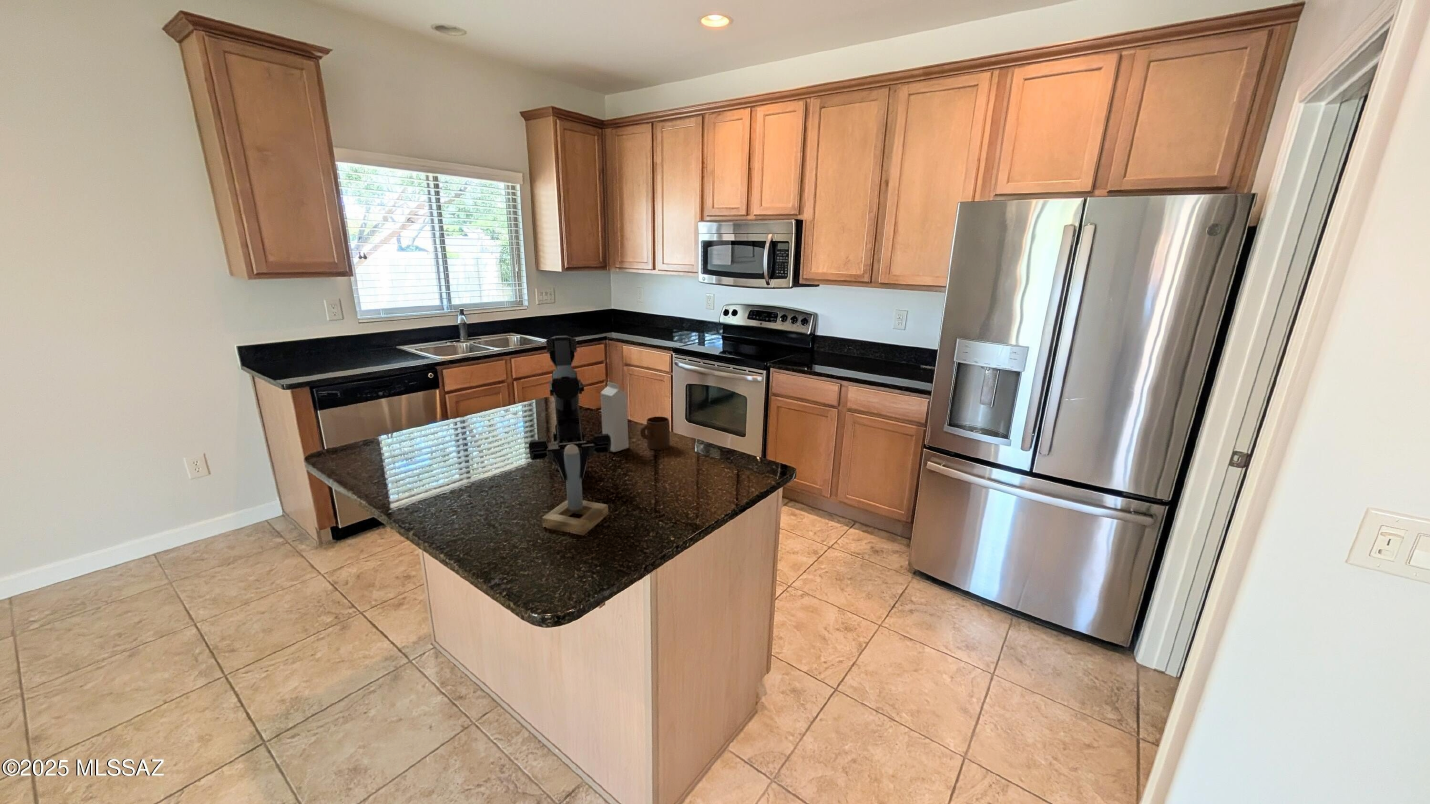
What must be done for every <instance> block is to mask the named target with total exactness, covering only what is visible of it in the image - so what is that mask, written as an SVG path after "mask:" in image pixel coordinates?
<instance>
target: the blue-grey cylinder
mask: <svg viewBox="0 0 1430 804" xmlns="http://www.w3.org/2000/svg"><path fill="white" fill-rule="evenodd" d="M564 462H565V474H566V481H565V487H566V488H565V489H566V500H567V502H568V509H569V510H579V509H581V508H583V485H582V484H583V483H582V479H581V468H580V453H579V449H578V447H577V446H576V445H573V444H570V445H568V446H566V448H565V450H564Z"/></svg>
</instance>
